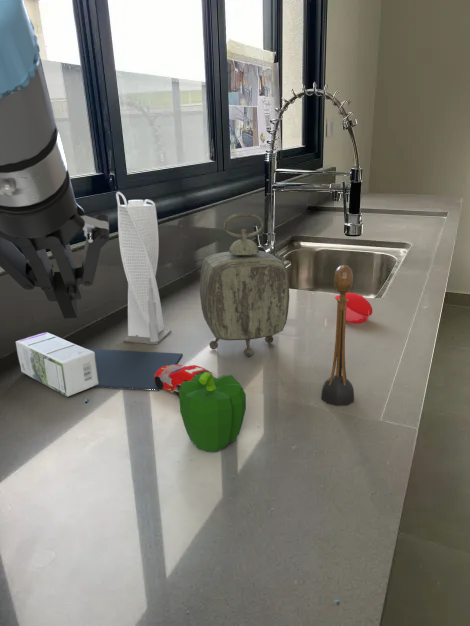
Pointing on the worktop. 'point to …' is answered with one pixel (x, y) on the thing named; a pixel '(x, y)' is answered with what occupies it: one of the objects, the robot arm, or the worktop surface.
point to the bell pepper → (212, 410)
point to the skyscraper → (141, 269)
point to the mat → (130, 367)
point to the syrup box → (57, 363)
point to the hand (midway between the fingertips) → (70, 308)
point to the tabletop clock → (244, 291)
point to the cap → (357, 308)
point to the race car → (176, 376)
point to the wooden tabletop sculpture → (340, 346)
